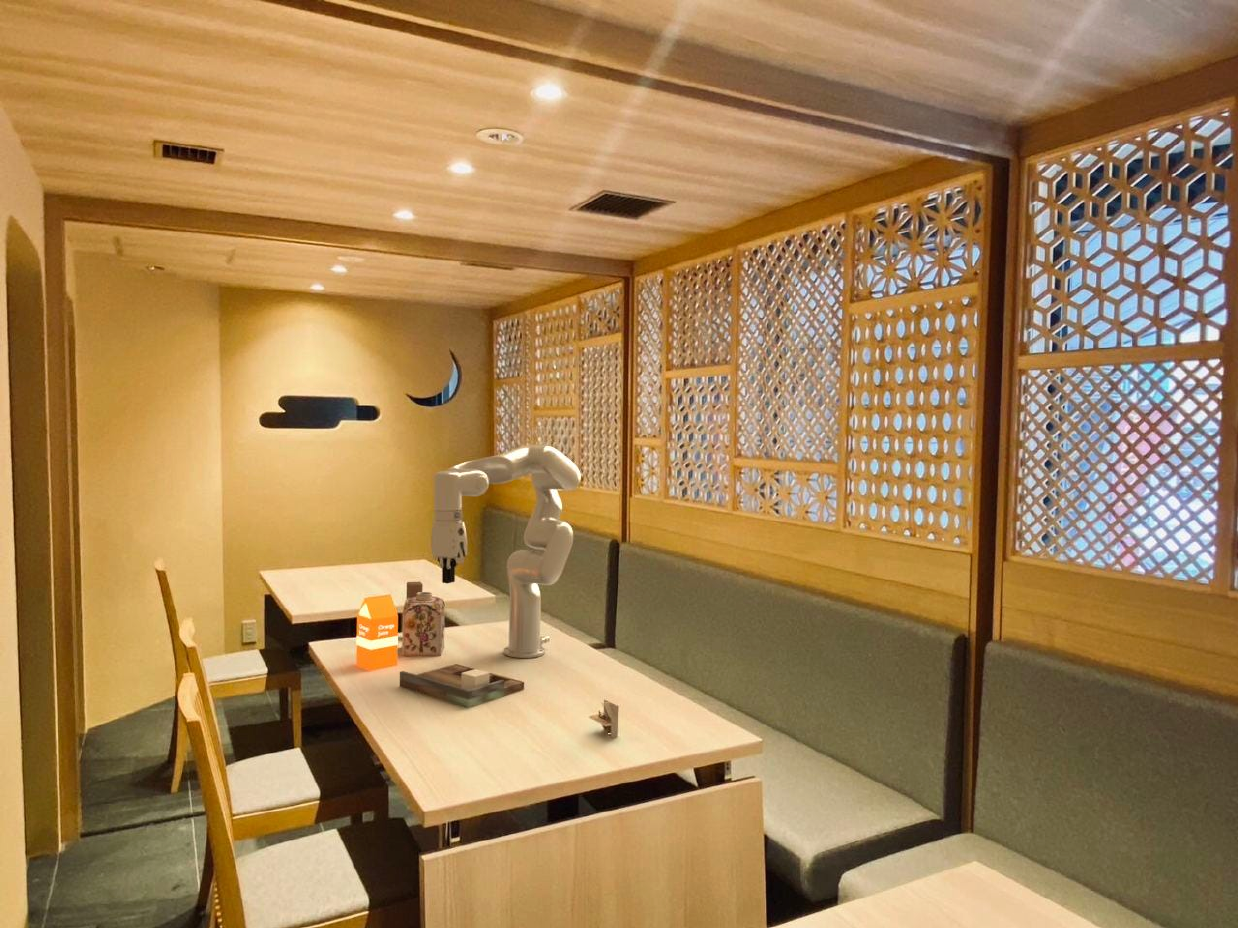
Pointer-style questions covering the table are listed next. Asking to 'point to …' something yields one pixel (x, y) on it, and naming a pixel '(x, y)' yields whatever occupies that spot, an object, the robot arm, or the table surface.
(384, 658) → the orange juice
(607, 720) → the architectural model
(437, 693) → the board
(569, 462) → the robot arm
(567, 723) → the table surface
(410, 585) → the wooden block
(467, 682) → the block
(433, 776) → the table surface
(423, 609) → the decorative jar
